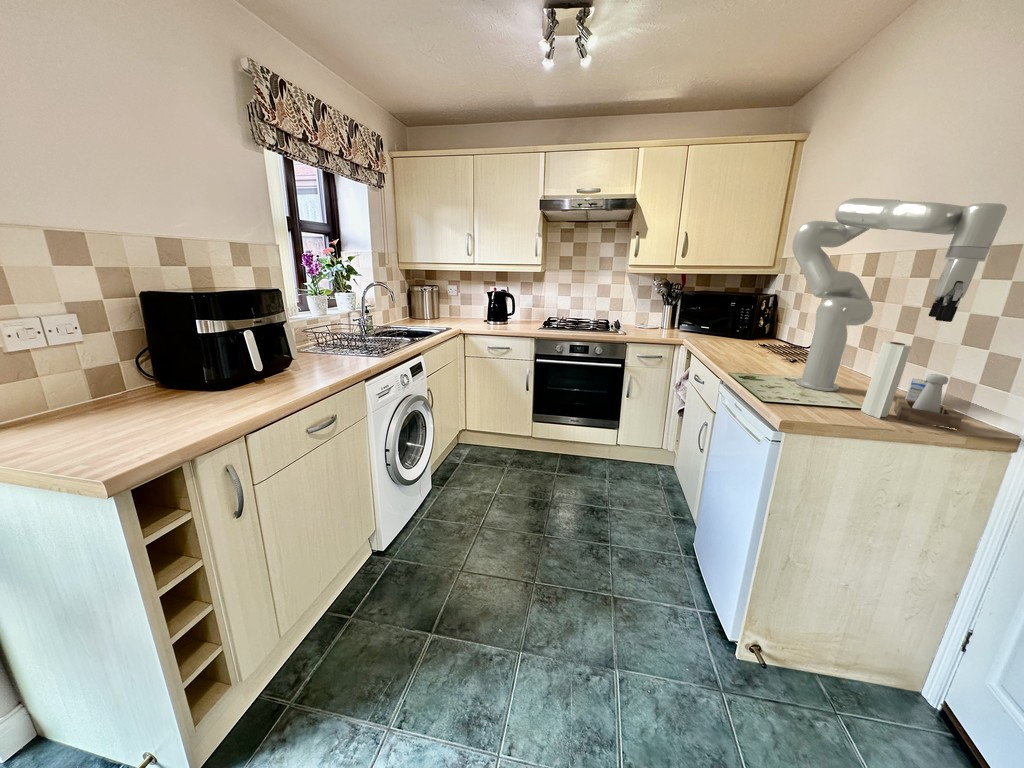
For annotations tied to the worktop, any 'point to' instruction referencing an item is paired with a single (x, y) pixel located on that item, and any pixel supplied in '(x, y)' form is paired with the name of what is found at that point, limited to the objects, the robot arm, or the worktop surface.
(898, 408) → the holder
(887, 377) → the paper towel roll
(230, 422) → the worktop surface
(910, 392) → the medicine box
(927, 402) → the salt shaker
